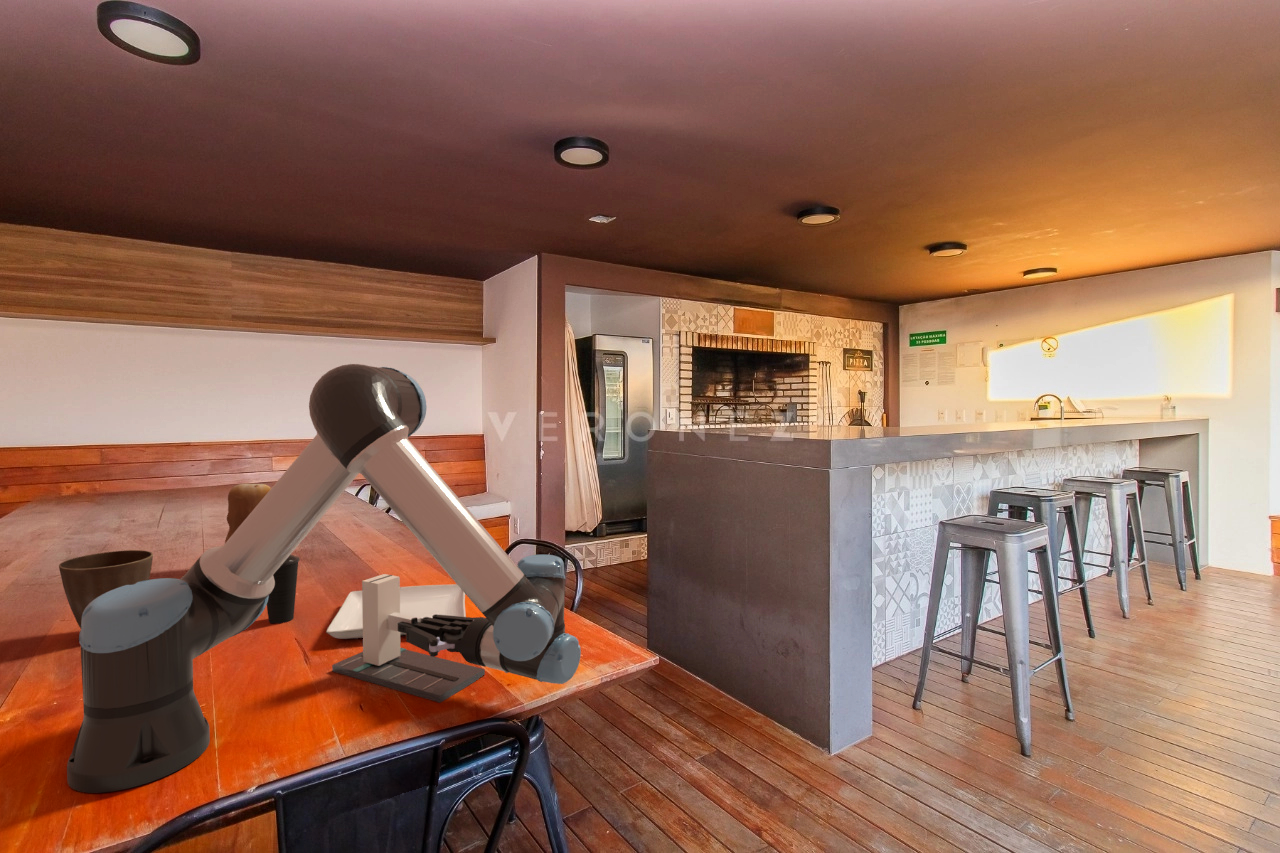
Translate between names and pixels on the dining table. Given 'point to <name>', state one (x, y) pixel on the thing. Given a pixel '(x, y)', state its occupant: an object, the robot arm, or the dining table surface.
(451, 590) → the square plate
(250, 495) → the butternut squash
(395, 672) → the dark grey marked board
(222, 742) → the dining table surface
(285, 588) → the drinking cup
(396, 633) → the fader tab
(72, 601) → the plant pot
